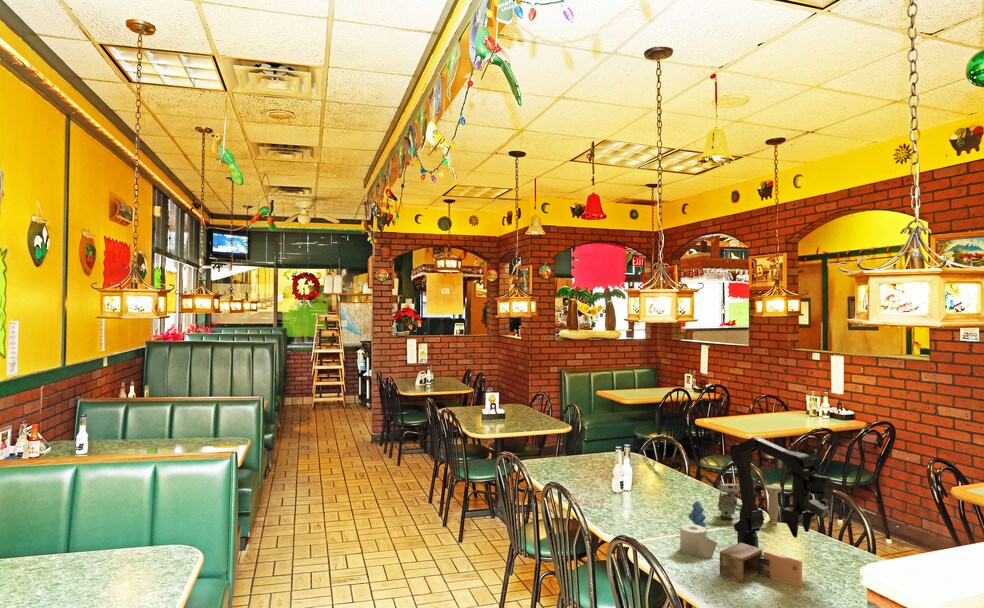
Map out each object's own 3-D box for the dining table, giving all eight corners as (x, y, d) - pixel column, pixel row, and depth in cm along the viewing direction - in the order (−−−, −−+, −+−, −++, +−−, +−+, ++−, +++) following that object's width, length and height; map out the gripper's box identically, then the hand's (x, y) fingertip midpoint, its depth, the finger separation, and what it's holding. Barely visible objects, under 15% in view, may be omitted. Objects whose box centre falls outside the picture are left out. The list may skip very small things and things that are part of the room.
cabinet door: (762, 575, 206) (762, 552, 206) (766, 573, 208) (766, 550, 208) (798, 588, 197) (798, 563, 197) (802, 586, 198) (802, 561, 199)
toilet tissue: (717, 559, 220) (717, 535, 220) (679, 553, 225) (679, 530, 225) (717, 550, 228) (717, 527, 229) (681, 545, 233) (681, 522, 234)
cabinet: (719, 575, 206) (719, 551, 206) (740, 564, 215) (740, 542, 215) (741, 583, 200) (741, 559, 200) (762, 572, 209) (762, 549, 209)
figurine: (745, 522, 260) (745, 487, 260) (717, 519, 264) (717, 484, 265) (745, 516, 268) (745, 482, 269) (717, 512, 273) (717, 479, 273)
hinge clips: (758, 574, 207) (758, 556, 207) (765, 570, 210) (764, 553, 210) (768, 577, 204) (768, 560, 204) (774, 574, 207) (774, 556, 207)
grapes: (684, 526, 255) (684, 497, 255) (700, 526, 254) (700, 498, 255) (692, 536, 243) (692, 506, 243) (708, 536, 243) (709, 506, 243)
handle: (782, 524, 258) (782, 489, 259) (765, 522, 261) (765, 487, 261) (780, 520, 263) (780, 486, 263) (764, 518, 265) (764, 484, 266)
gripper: (813, 500, 201) (813, 547, 200) (836, 490, 212) (836, 535, 212) (779, 492, 209) (779, 537, 209) (803, 484, 221) (803, 526, 221)
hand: (801, 534), depth 212 cm, fingers open, 9 cm apart
